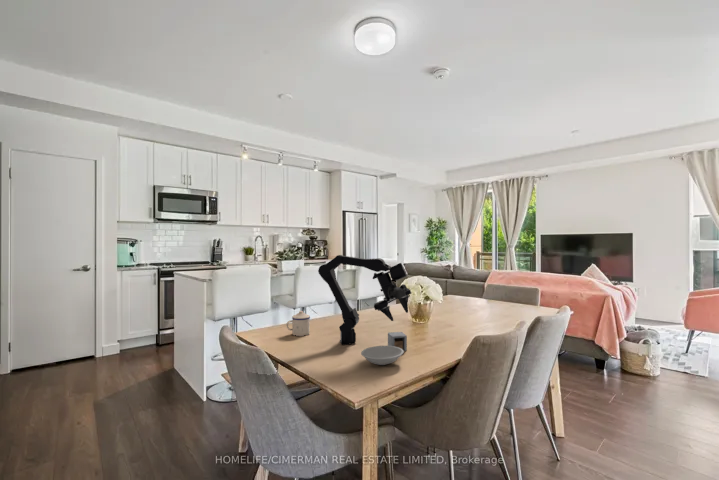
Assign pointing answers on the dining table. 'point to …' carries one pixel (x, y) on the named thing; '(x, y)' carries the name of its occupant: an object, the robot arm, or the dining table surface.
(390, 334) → the grey cover
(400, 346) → the walnut block
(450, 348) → the dining table surface
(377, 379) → the dining table surface
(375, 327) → the dining table surface
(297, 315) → the teacup with lid
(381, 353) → the dish
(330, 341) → the dining table surface
